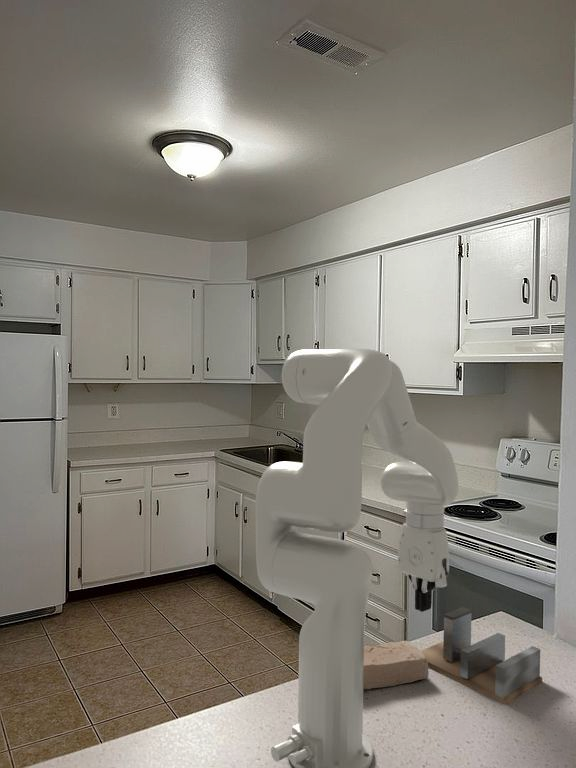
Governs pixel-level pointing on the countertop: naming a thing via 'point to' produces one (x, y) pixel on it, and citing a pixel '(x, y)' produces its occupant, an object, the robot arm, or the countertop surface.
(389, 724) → the countertop surface
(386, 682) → the brick
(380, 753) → the countertop surface
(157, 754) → the countertop surface
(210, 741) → the countertop surface
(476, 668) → the free jaw
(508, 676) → the vise base
